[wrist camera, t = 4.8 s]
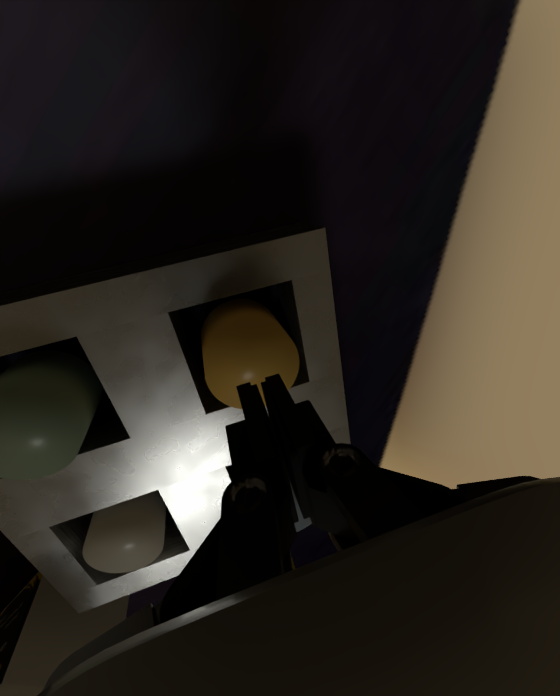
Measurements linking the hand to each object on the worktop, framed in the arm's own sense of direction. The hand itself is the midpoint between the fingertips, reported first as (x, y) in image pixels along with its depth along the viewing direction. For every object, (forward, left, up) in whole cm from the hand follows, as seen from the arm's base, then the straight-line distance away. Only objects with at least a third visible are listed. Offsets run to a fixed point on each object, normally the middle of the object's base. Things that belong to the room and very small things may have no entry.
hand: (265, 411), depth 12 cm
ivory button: (+10, -10, -8) cm, 16 cm away
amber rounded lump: (0, 0, -7) cm, 7 cm away
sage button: (0, -10, -7) cm, 12 cm away
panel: (+5, -5, -9) cm, 11 cm away
